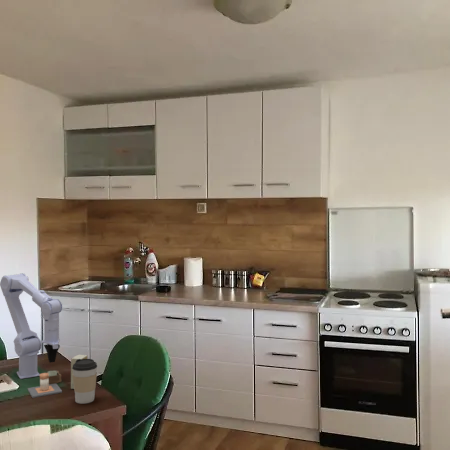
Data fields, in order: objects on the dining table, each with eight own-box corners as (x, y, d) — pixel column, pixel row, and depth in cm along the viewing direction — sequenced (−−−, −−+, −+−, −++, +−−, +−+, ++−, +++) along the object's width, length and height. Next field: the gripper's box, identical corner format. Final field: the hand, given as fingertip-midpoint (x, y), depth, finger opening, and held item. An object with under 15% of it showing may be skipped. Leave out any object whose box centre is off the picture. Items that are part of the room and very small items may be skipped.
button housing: (43, 380, 209) (43, 373, 209) (57, 377, 212) (57, 370, 212) (46, 384, 204) (46, 377, 204) (61, 382, 207) (61, 375, 207)
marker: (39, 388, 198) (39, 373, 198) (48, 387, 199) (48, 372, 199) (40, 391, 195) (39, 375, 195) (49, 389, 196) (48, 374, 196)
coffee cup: (102, 397, 191) (101, 358, 191) (88, 406, 183) (88, 365, 182) (81, 394, 194) (81, 355, 194) (67, 402, 186) (67, 362, 185)
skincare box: (80, 390, 199) (80, 359, 198) (70, 389, 200) (70, 358, 199) (88, 384, 205) (88, 354, 205) (78, 383, 206) (78, 354, 205)
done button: (46, 378, 209) (46, 371, 209) (55, 377, 211) (55, 370, 211) (48, 381, 206) (48, 374, 206) (57, 379, 208) (57, 372, 208)
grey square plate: (27, 389, 199) (27, 387, 199) (56, 384, 204) (56, 383, 204) (32, 397, 190) (32, 396, 190) (62, 392, 196) (62, 390, 196)
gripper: (38, 326, 212) (38, 358, 212) (45, 334, 199) (45, 368, 200) (55, 324, 215) (55, 356, 216) (63, 332, 203) (63, 365, 204)
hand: (51, 361), depth 208 cm, fingers closed
